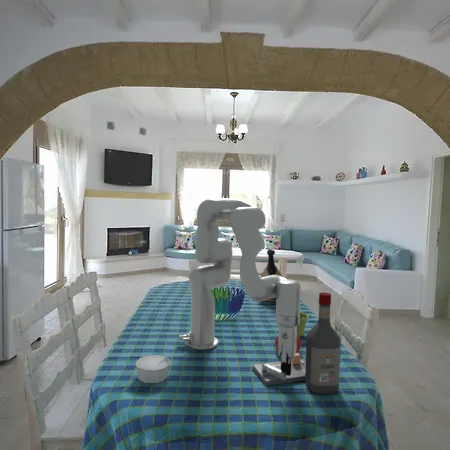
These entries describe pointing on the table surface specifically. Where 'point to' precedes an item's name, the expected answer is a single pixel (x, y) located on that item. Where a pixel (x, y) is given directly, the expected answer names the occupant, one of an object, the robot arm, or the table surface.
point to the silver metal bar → (273, 371)
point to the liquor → (323, 352)
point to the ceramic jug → (271, 268)
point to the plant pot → (302, 324)
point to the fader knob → (296, 359)
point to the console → (269, 379)
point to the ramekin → (152, 368)
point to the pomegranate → (297, 344)
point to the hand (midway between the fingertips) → (285, 373)
